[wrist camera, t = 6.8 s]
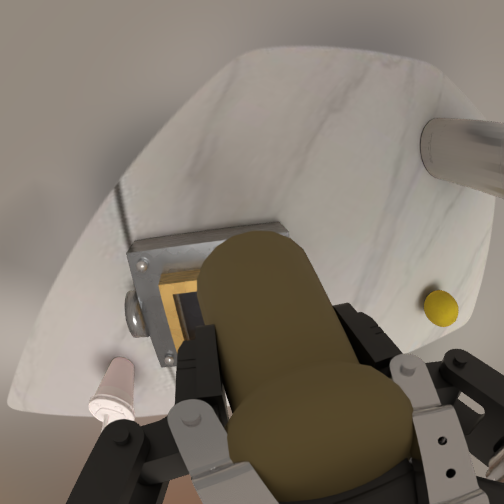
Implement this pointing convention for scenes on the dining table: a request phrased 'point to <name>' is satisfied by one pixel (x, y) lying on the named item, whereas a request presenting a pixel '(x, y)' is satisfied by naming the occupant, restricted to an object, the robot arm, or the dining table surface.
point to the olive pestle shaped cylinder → (296, 374)
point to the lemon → (441, 308)
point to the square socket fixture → (173, 285)
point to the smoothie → (115, 393)
